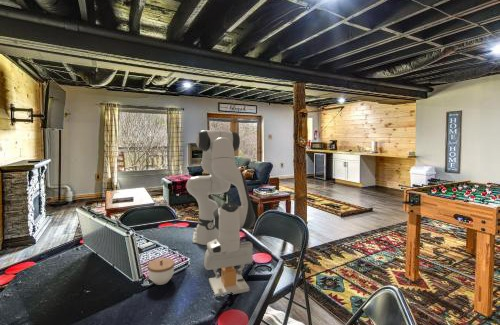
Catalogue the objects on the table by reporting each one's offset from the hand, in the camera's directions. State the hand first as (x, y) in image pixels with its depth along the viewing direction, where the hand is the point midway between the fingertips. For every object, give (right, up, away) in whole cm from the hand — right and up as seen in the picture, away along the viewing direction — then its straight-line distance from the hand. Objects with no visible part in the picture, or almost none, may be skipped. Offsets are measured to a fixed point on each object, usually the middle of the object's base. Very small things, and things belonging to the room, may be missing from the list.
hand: (228, 275), depth 110 cm
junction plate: (0, -5, 0) cm, 5 cm away
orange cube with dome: (0, -3, 0) cm, 3 cm away
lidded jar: (-29, -4, +3) cm, 29 cm away
